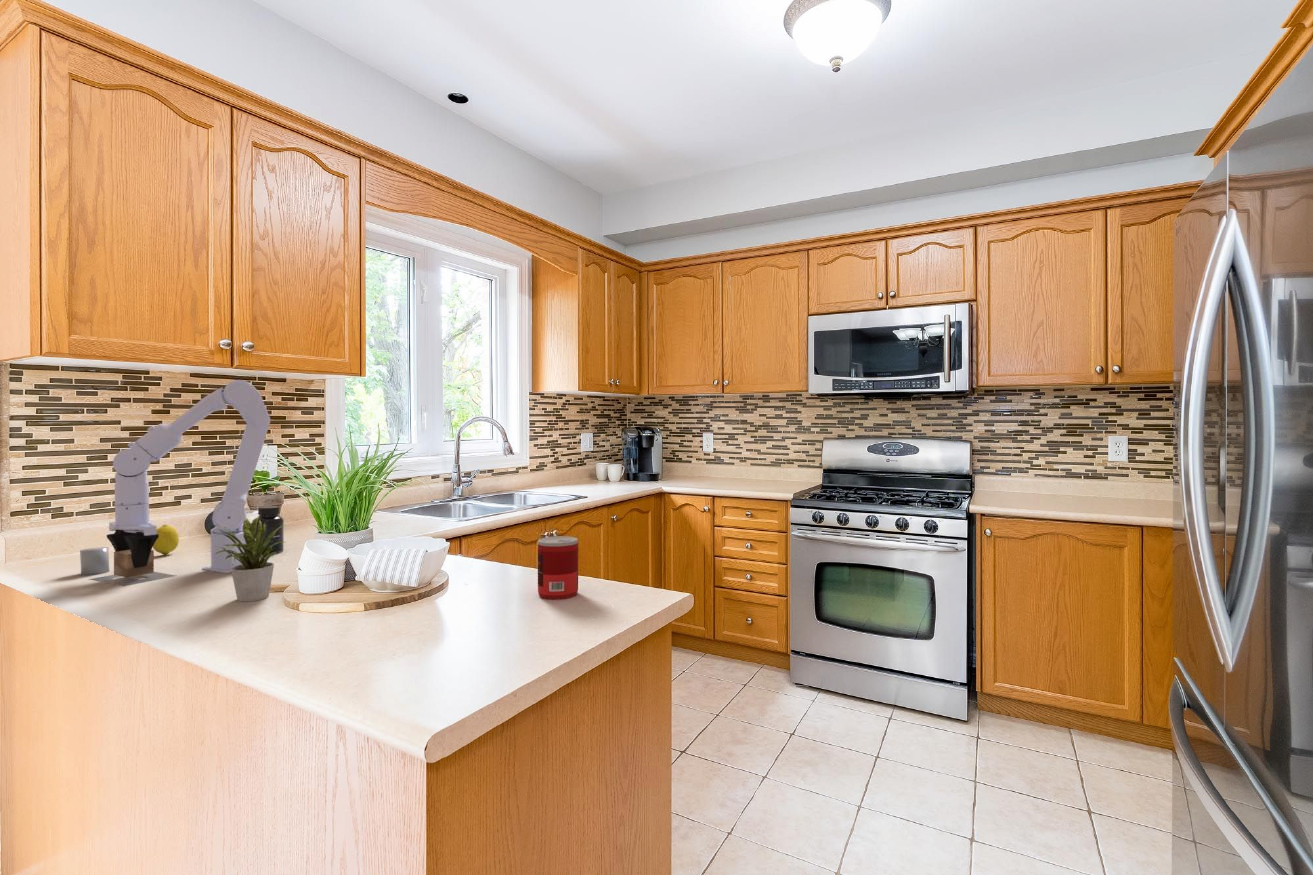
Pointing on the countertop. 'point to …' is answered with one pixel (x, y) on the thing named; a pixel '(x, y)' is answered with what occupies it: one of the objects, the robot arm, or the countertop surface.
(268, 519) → the supplement bottle
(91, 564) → the grey jar
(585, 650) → the countertop surface
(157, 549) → the lemon
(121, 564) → the walnut cube
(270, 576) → the house plant
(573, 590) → the canned food
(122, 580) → the letter card
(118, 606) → the countertop surface
